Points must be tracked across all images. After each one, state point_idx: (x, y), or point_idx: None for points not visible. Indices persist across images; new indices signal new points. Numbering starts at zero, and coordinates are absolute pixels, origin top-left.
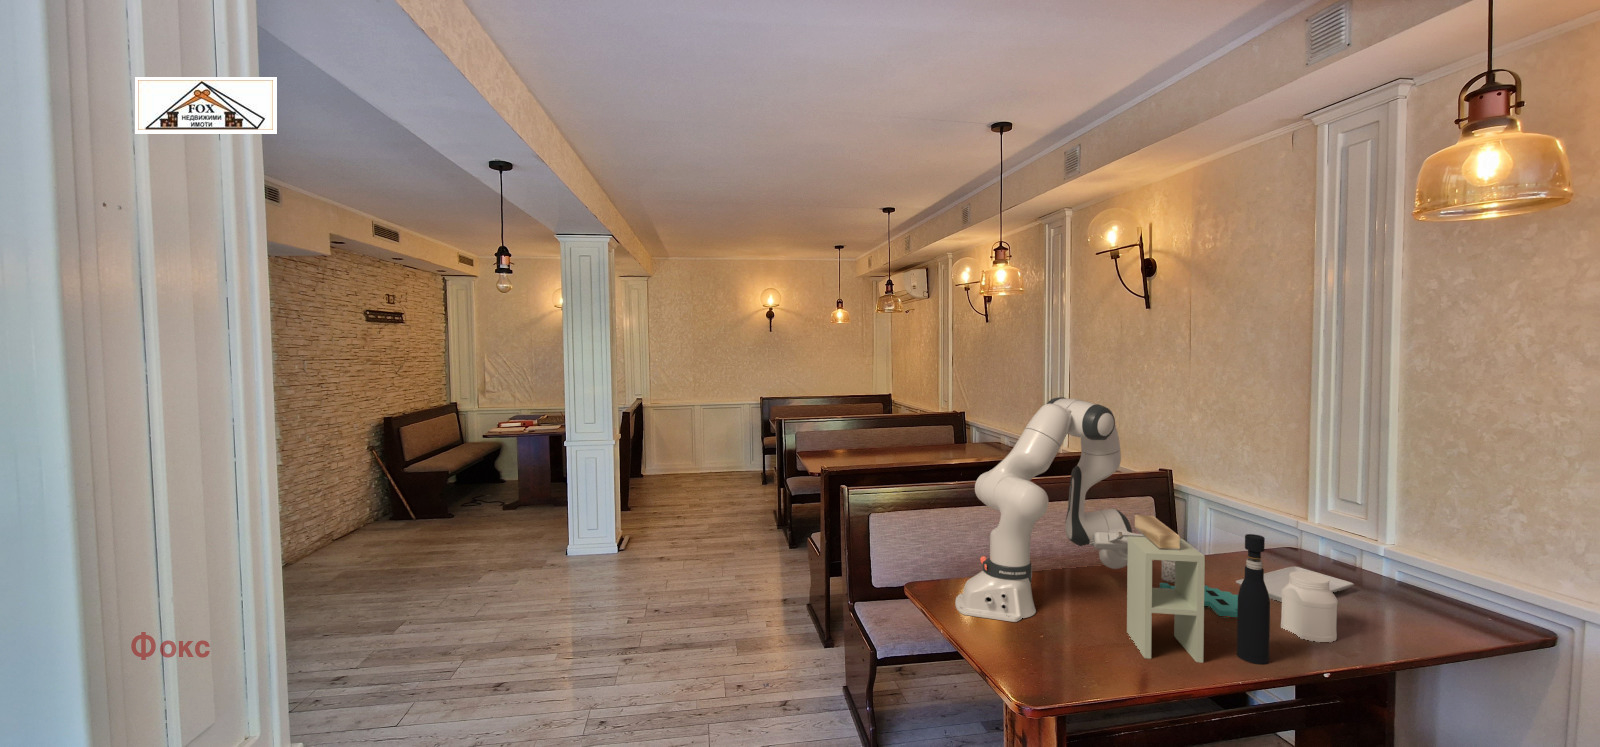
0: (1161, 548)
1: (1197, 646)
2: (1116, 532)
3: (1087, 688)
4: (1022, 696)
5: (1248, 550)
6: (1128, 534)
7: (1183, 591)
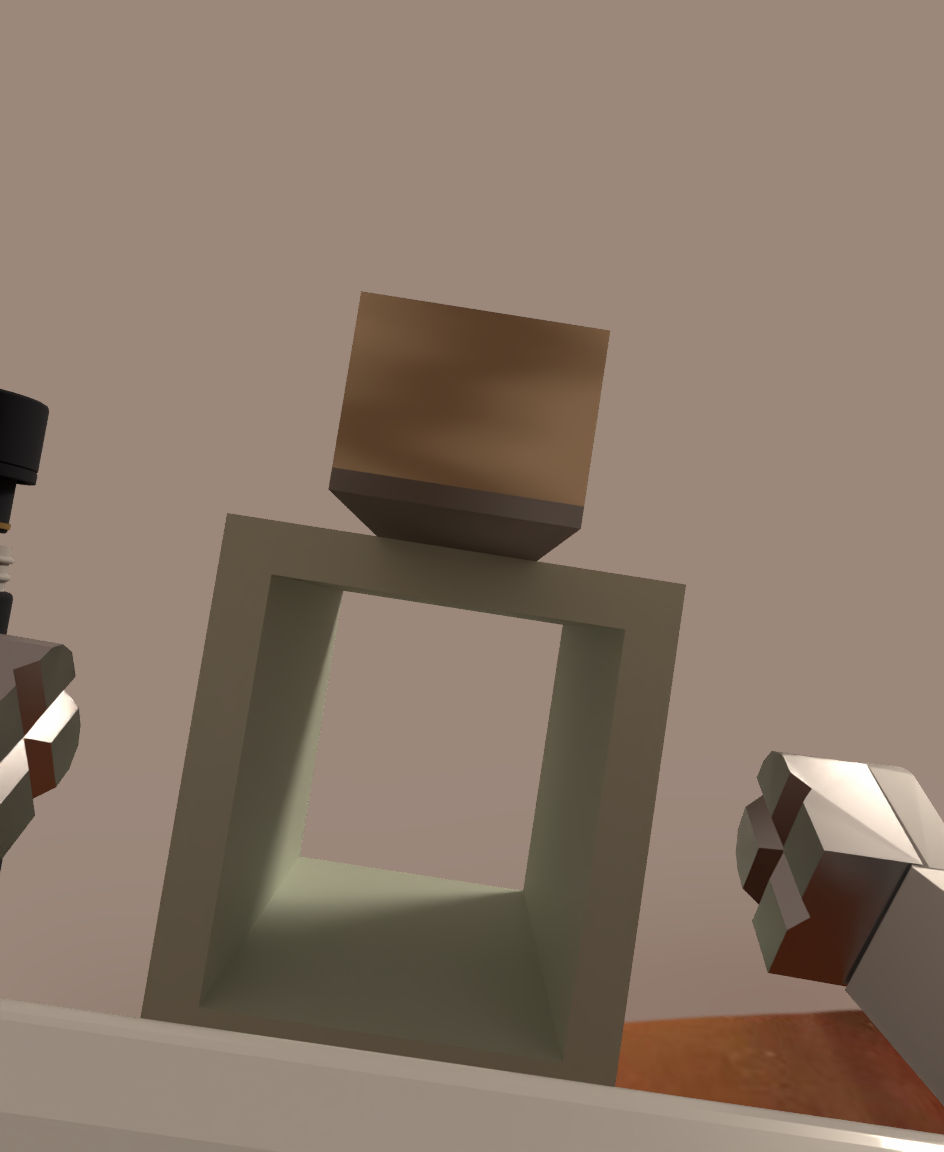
0: None
1: None
2: (899, 782)
3: (757, 1045)
4: None
5: (7, 488)
6: (518, 1082)
7: (260, 882)
